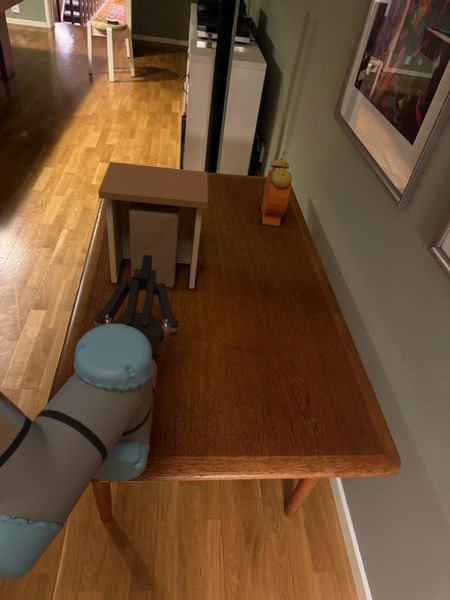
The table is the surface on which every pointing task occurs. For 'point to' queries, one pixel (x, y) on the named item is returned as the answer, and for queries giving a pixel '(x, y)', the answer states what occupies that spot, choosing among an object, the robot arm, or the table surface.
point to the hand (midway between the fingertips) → (147, 261)
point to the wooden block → (155, 238)
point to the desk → (158, 190)
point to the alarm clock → (276, 192)
